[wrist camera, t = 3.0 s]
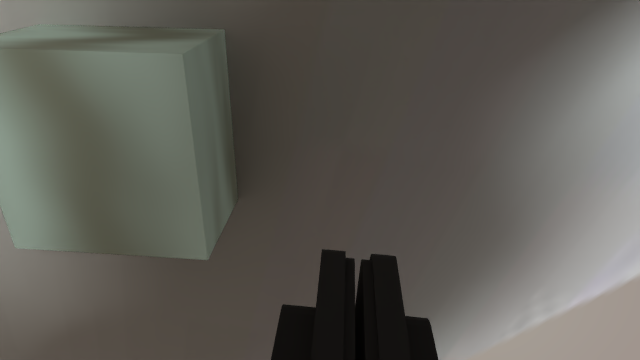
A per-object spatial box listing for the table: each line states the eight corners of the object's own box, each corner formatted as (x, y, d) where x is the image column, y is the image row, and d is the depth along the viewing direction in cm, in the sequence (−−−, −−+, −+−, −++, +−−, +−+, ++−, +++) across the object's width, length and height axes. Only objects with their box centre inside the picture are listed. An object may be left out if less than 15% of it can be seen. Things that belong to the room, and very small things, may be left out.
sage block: (225, 28, 17) (182, 53, 13) (239, 196, 20) (207, 259, 16) (41, 23, 17) (-57, 46, 13) (84, 188, 20) (15, 248, 16)
